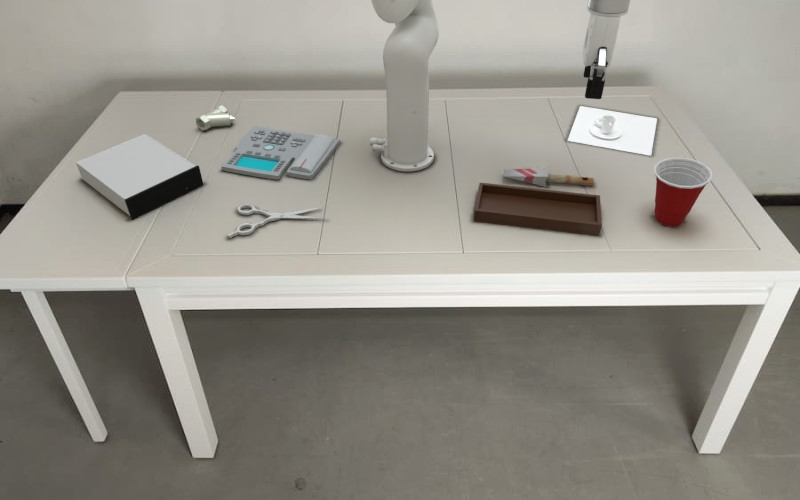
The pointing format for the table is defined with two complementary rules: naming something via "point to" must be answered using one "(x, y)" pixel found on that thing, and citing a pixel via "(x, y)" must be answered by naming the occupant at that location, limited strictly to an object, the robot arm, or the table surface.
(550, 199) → the tray
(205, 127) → the pipe fitting
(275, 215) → the scissors
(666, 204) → the plastic cup
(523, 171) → the paintbrush
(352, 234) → the table surface
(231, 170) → the office telephone
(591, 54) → the robot arm
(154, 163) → the disc drive
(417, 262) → the table surface
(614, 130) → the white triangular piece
